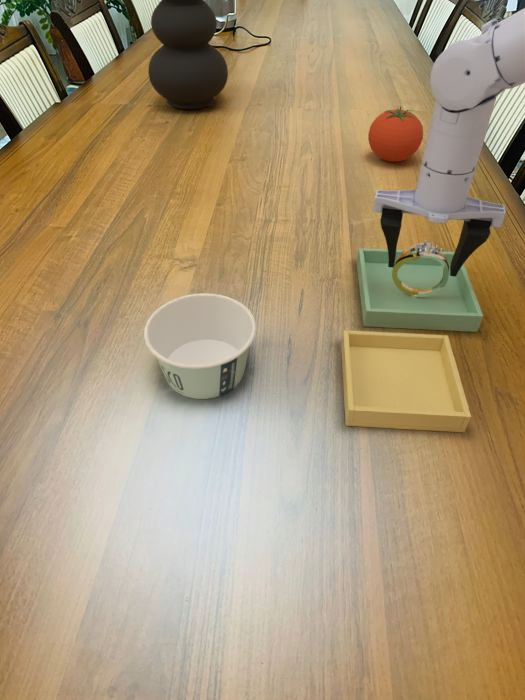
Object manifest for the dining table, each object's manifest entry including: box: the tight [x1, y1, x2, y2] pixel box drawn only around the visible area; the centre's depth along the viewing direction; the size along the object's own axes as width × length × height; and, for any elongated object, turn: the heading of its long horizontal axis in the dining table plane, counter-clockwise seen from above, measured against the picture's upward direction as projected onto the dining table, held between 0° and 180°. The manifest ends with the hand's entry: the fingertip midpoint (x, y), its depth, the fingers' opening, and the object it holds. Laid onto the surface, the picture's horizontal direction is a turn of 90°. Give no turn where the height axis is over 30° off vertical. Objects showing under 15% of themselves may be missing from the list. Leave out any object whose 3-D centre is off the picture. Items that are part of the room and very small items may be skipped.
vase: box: [148, 0, 229, 110], centre depth 112 cm, size 18×18×35 cm
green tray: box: [356, 247, 484, 333], centre depth 68 cm, size 14×14×3 cm
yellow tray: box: [340, 329, 472, 433], centre depth 56 cm, size 12×12×3 cm
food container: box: [143, 292, 257, 400], centre depth 57 cm, size 12×12×6 cm
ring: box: [392, 239, 449, 298], centre depth 65 cm, size 7×3×8 cm, turn 70°
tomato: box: [367, 106, 424, 163], centre depth 98 cm, size 10×10×10 cm
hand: (421, 267), depth 65 cm, fingers open, 7 cm apart
